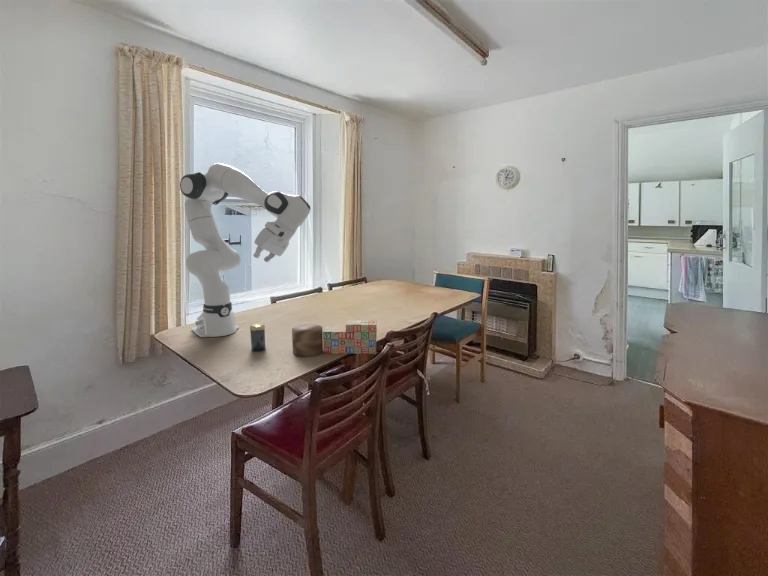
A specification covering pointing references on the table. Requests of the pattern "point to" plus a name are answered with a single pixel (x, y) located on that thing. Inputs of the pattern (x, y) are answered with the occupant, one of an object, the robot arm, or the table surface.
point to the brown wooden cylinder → (307, 340)
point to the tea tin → (257, 337)
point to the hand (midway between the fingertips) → (260, 259)
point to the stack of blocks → (351, 338)
